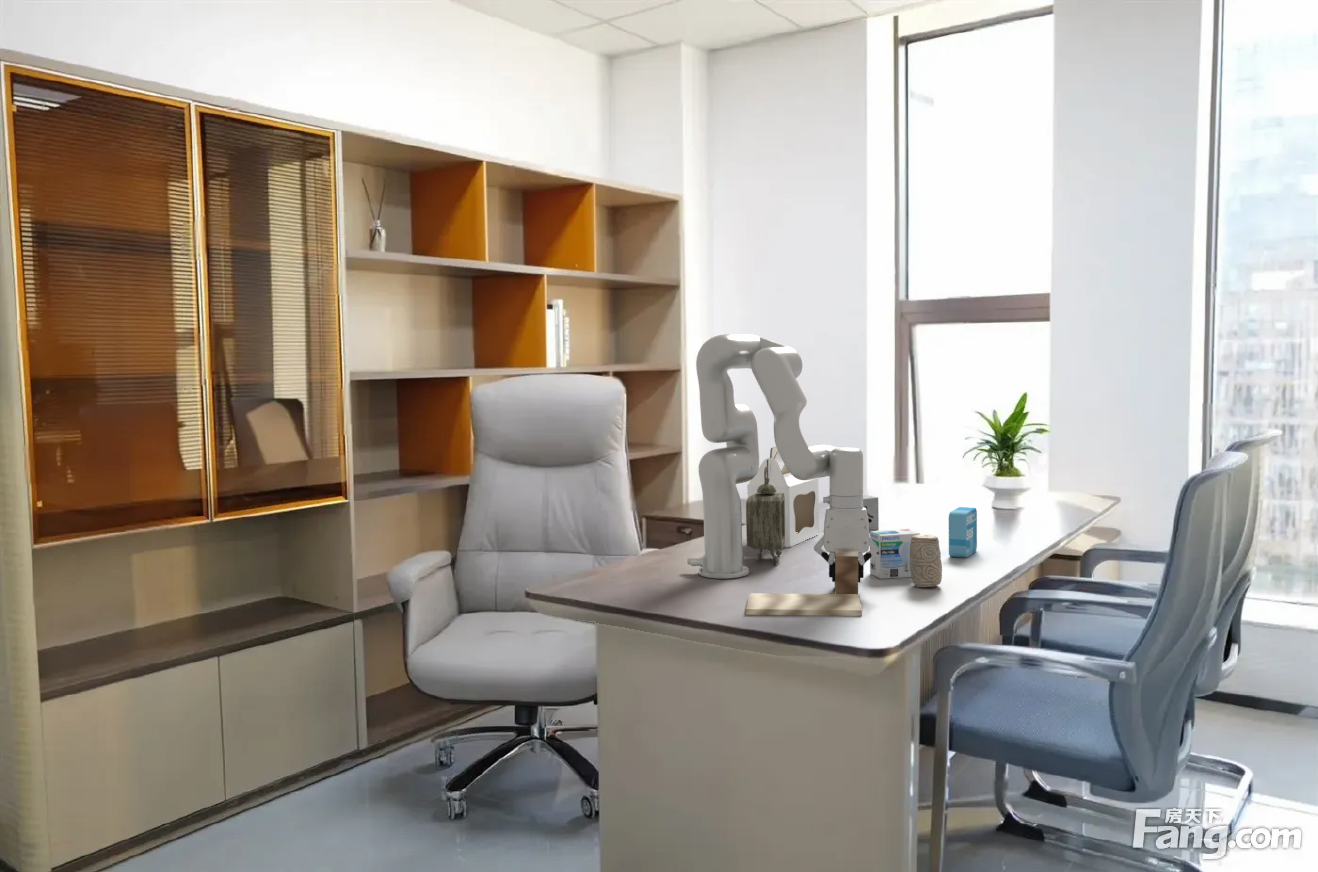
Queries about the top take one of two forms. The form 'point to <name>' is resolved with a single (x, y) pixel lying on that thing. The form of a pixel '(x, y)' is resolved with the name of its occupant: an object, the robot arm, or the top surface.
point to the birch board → (804, 604)
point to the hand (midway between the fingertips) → (846, 579)
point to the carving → (925, 560)
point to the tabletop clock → (766, 519)
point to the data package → (962, 532)
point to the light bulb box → (891, 553)
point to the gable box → (791, 499)
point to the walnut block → (846, 571)
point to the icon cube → (871, 511)
